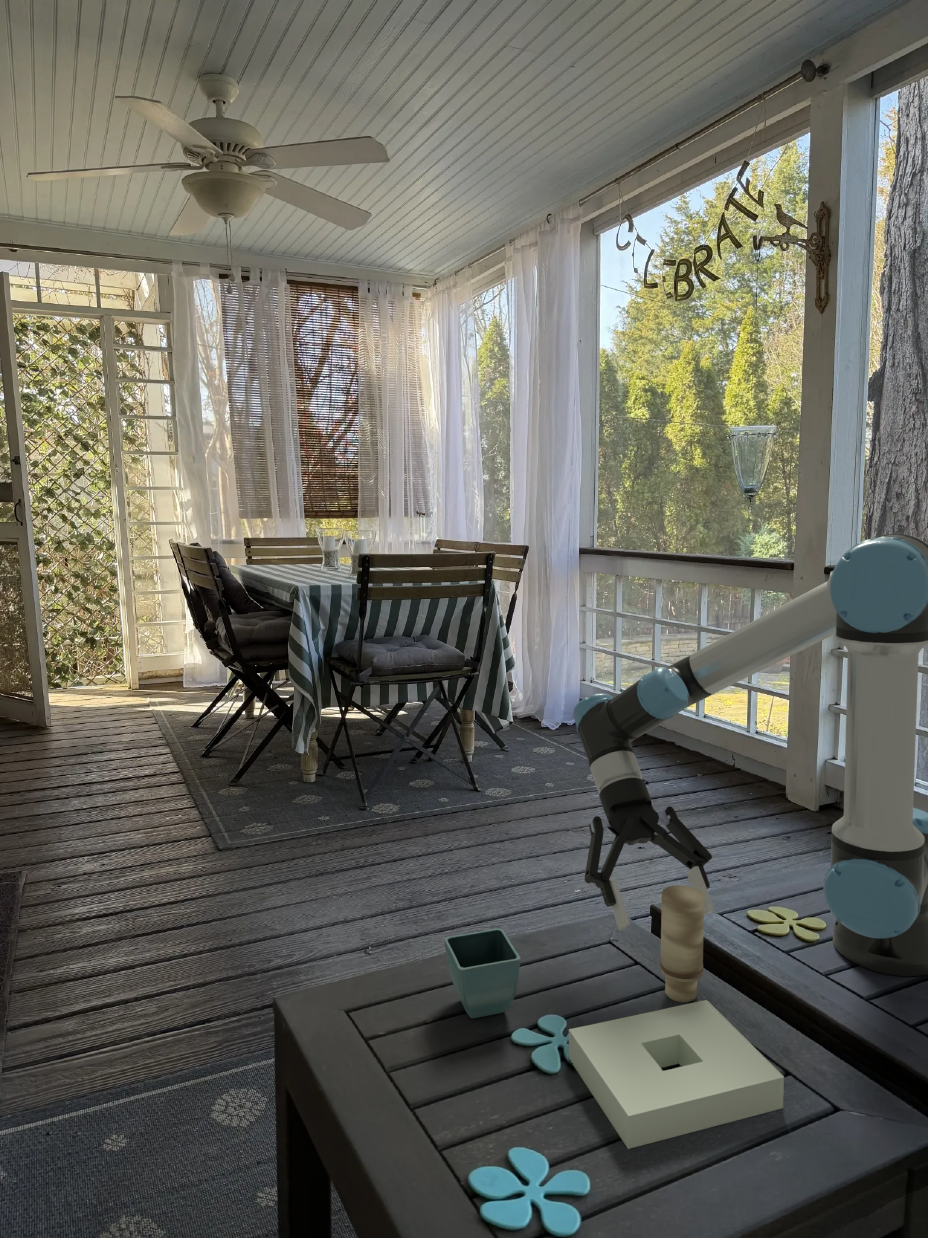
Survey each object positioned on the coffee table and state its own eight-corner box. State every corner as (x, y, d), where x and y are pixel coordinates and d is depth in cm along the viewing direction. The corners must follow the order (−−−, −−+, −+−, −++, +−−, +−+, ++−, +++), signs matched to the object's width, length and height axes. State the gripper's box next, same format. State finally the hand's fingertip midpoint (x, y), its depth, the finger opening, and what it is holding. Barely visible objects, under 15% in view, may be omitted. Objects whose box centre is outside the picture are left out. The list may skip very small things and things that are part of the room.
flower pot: (460, 1031, 115) (459, 969, 114) (444, 995, 123) (443, 936, 122) (522, 1019, 117) (521, 959, 116) (502, 984, 126) (501, 927, 124)
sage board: (706, 1027, 115) (706, 1000, 114) (782, 1108, 100) (784, 1077, 99) (568, 1058, 109) (568, 1029, 108) (628, 1149, 94) (628, 1116, 93)
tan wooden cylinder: (688, 978, 126) (690, 882, 124) (711, 1001, 121) (713, 901, 118) (651, 985, 125) (653, 888, 122) (673, 1009, 119) (675, 908, 117)
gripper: (681, 787, 142) (731, 915, 130) (541, 805, 135) (580, 942, 123) (699, 767, 136) (753, 898, 124) (554, 784, 129) (596, 925, 117)
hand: (667, 920), depth 124 cm, fingers open, 13 cm apart
